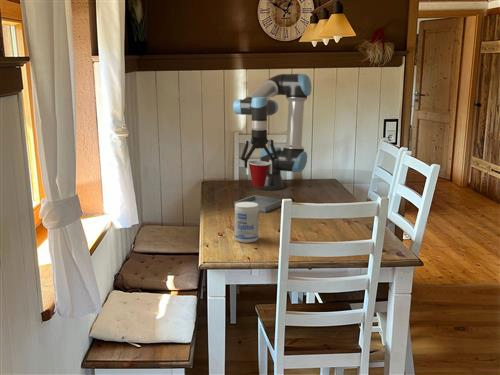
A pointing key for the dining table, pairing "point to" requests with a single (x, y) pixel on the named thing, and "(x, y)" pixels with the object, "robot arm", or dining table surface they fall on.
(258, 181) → the plastic cup
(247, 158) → the robot arm
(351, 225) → the dining table surface
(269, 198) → the tray
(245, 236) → the supplement tub
